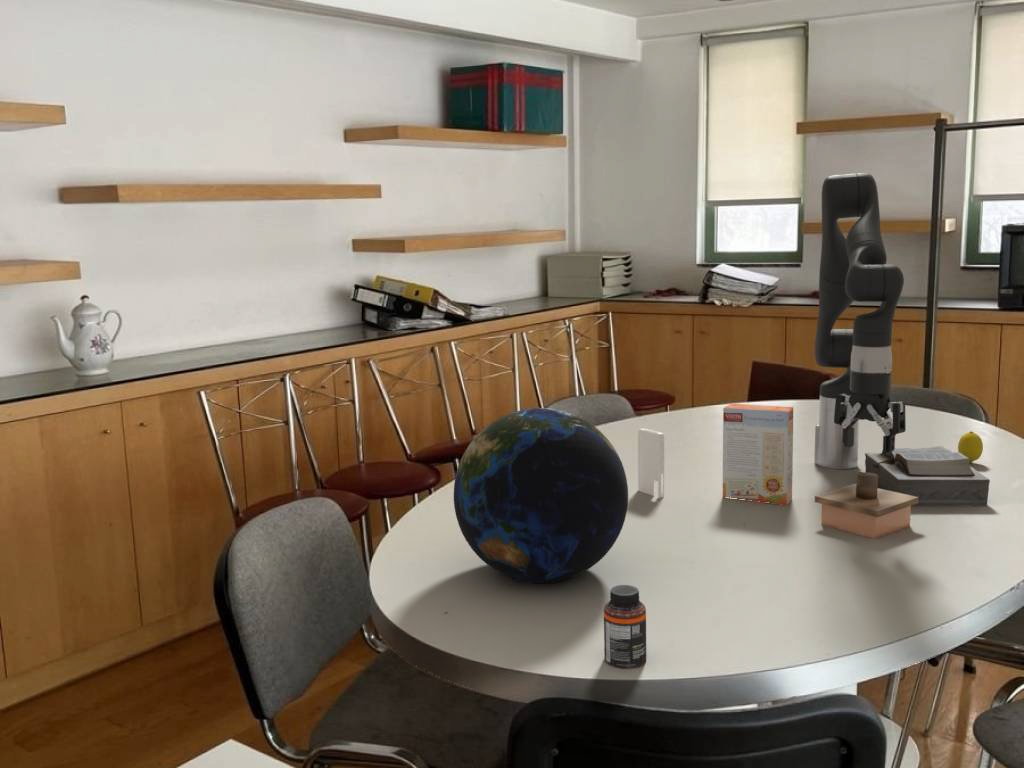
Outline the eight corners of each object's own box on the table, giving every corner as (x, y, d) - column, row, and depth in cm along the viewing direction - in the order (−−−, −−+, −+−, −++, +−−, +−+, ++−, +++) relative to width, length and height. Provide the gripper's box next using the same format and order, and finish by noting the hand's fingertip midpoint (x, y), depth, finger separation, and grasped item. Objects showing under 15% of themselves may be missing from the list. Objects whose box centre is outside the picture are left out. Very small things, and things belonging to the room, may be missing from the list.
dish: (821, 526, 209) (822, 502, 208) (856, 514, 217) (857, 490, 216) (874, 540, 200) (875, 515, 199) (909, 527, 207) (910, 502, 206)
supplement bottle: (617, 653, 153) (616, 578, 151) (654, 662, 149) (654, 586, 148) (596, 668, 148) (595, 591, 146) (634, 678, 145) (633, 600, 143)
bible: (873, 508, 222) (874, 463, 220) (861, 475, 248) (862, 434, 246) (992, 513, 217) (994, 466, 215) (967, 479, 243) (969, 437, 241)
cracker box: (792, 500, 227) (794, 405, 224) (786, 508, 222) (788, 411, 219) (728, 494, 234) (730, 401, 230) (721, 501, 228) (722, 406, 225)
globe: (656, 596, 174) (656, 419, 169) (481, 620, 166) (476, 434, 161) (592, 542, 203) (590, 389, 198) (439, 560, 194) (433, 400, 189)
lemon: (984, 466, 252) (986, 434, 251) (959, 465, 253) (961, 433, 252) (979, 461, 257) (980, 429, 256) (955, 460, 259) (956, 428, 257)
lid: (814, 501, 209) (815, 474, 208) (855, 489, 217) (856, 462, 216) (877, 517, 198) (878, 488, 197) (918, 503, 206) (919, 475, 205)
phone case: (637, 494, 235) (637, 428, 233) (642, 493, 236) (642, 427, 233) (659, 501, 229) (659, 434, 226) (664, 500, 230) (664, 433, 227)
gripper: (827, 366, 206) (825, 447, 209) (893, 374, 195) (889, 459, 198) (850, 362, 211) (847, 441, 213) (915, 370, 200) (911, 453, 202)
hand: (868, 450), depth 206 cm, fingers open, 8 cm apart
